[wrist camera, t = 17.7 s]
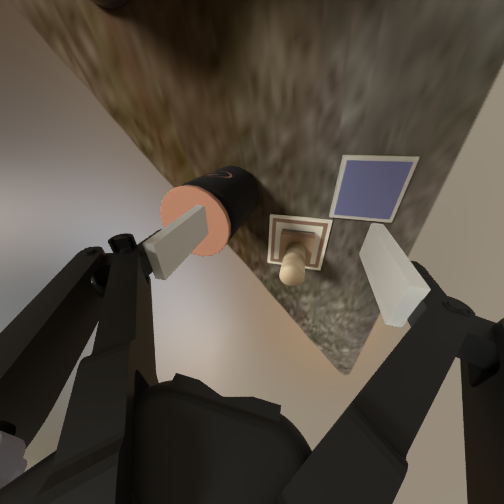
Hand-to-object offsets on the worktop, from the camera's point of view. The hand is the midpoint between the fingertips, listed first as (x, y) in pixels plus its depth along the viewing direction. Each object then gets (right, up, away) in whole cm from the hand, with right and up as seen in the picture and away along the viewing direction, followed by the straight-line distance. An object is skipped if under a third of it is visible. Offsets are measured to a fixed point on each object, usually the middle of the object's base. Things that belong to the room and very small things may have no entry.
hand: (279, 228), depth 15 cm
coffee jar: (-6, +11, +26) cm, 29 cm away
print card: (+8, 0, +28) cm, 29 cm away
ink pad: (+19, +10, +19) cm, 28 cm away
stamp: (+8, 0, +28) cm, 29 cm away
